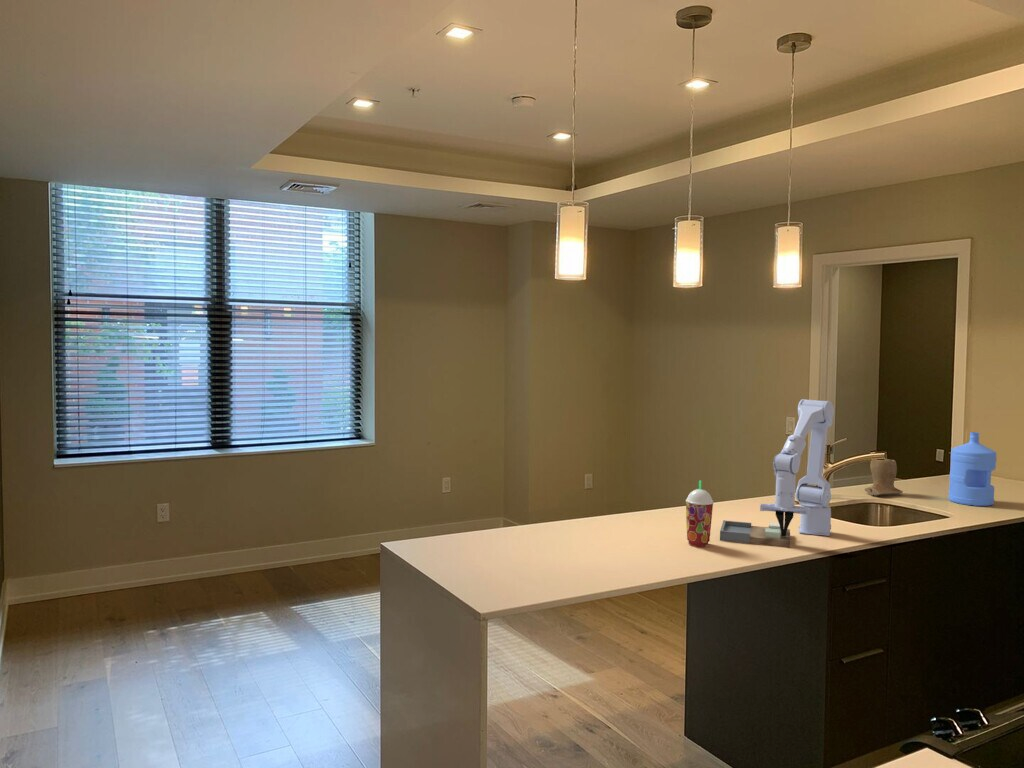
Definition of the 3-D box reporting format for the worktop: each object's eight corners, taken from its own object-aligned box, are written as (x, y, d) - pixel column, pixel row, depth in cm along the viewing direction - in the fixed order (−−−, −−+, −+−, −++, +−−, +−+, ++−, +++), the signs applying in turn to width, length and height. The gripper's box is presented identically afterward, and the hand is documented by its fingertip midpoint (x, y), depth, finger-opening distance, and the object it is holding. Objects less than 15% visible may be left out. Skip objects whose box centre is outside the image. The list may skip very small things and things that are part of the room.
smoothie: (707, 540, 244) (709, 478, 242) (715, 548, 236) (717, 483, 234) (681, 540, 244) (683, 477, 242) (688, 548, 235) (690, 483, 234)
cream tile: (783, 531, 249) (783, 523, 249) (783, 534, 245) (783, 526, 245) (768, 529, 251) (769, 522, 251) (768, 533, 247) (768, 525, 246)
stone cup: (883, 490, 329) (885, 455, 328) (907, 496, 318) (908, 460, 317) (856, 492, 324) (857, 457, 323) (878, 498, 313) (880, 461, 312)
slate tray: (751, 531, 256) (751, 522, 256) (749, 543, 242) (749, 533, 242) (723, 529, 259) (723, 520, 259) (719, 540, 245) (720, 530, 244)
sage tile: (780, 535, 244) (780, 529, 244) (780, 538, 240) (780, 532, 240) (765, 533, 246) (765, 528, 246) (765, 537, 242) (765, 531, 242)
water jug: (939, 499, 311) (943, 430, 310) (965, 497, 318) (968, 429, 316) (976, 508, 297) (980, 435, 295) (1002, 504, 304) (1007, 434, 302)
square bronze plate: (789, 535, 252) (789, 529, 252) (790, 547, 238) (790, 540, 238) (751, 531, 256) (751, 525, 256) (749, 543, 242) (749, 536, 242)
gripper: (760, 492, 240) (758, 536, 240) (810, 496, 235) (808, 540, 236) (761, 488, 246) (759, 530, 247) (809, 492, 242) (807, 535, 242)
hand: (783, 535), depth 242 cm, fingers closed
